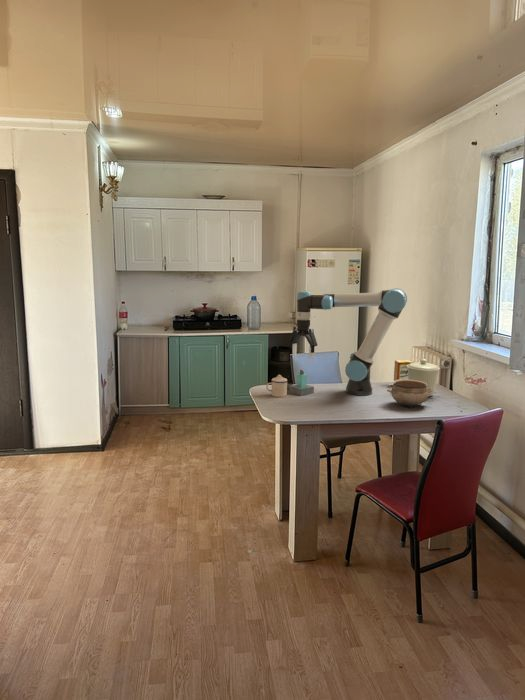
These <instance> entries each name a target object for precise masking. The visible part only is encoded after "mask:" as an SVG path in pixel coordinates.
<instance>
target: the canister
mask: <svg viewBox="0 0 525 700" xmlns="http://www.w3.org/2000/svg"><path fill="white" fill-rule="evenodd" d="M407 368H408V379H410V380H418V381H423V382H425V383H427V384H428V385H427V389H430V388H431V389H432V391H431V392H430V393H428V398H429V397H432V396H433V395H434V393H435V391H436V385H437V381H438V375H439V370H440V369H441V368H440V367H439V366H438V365H436V364H434V363H429V362H428V360H427V359H425V358H421V359H420V361H418V362H414V363H410V364H409V365H407ZM429 391H430V390H429Z"/></svg>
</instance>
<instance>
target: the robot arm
mask: <svg viewBox="0 0 525 700" xmlns="http://www.w3.org/2000/svg"><path fill="white" fill-rule="evenodd" d="M407 302H408V296H407V294H406V292H405V291H404V290H403V289H401V288H392V289H387V290H380V291H379V292H358V293H357V292H356V293H331V294H329V293H324V294H322V295H312V292H311V291H298V292H297V299H296V304H297V305H296V319H297V320H296V326H293V329H292V333H291V335H290V338H289V341H288V342H290V343H291V349H292V354H291V355H292V356H297V355H298V353H297V352H298V343H297V342H298V340H299V339H300V338H301V337H304V338H305V339H306V341H307V344H309V347H308V348H309V349H308V351H309V353H308V359H309V360H310V359H314V356H315V355H314V353H315V347H317V346H318V342H317V339H316V336H315V333H314V329H313V328H310V327H311V310H325V311H326V310H331V309H332V308H351V307H352V308H353V307H354V308H355V307H357V308H358V307H377V310H378V312H377V315H376V317H375V318H374V321H373V323H372V325H371V326H370V328H369V330H368V332H367V334H366V335H365V338H364V339H363V341H362V343H361V345H360V347H359V348H358V350H356V351H354V352H352V353H350V356H349V361H348V363H347V364H346V365H345V370H344V372H345V375H346V376H347V378H348V382H347V384H346V387H345V392H346V393H347V394H348V395H353V396H370V395H372V394H373V387H372V384H371V383H372V382H371V368H372V366H373V364H374V361H373V360H374V359H373V358H374V356H375V354H376V352H377V350H378V349H379V347H380V346H381V344H382V341H383V340H384V338H385V337H386V335H387V332H388V330H389V329H390V327H391V325H392V323H393V321H394V320H396V319H399V316H400V315H401V314H402V311H403V309H404V308H405V307H406V304H407Z"/></svg>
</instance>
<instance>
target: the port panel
mask: <svg viewBox="0 0 525 700" xmlns="http://www.w3.org/2000/svg"><path fill="white" fill-rule="evenodd" d="M314 389H315V387H314V385H309V384H306V387H303V388H300V387H297V383H296V384H294V385H290V386H289V391H288V393H290V394H293V395H295V396H300V397H303V396H308V395H312V394H314V393H315V390H314Z"/></svg>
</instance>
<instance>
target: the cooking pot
mask: <svg viewBox="0 0 525 700" xmlns="http://www.w3.org/2000/svg"><path fill="white" fill-rule="evenodd" d="M392 383H393V384H394V385H392V387H391V389H387V390H386V392H389V393H390V394H391V397H392V399H393V400H395V401H396V402H397V403H398V404H400V405H401V406H403V407H406V408H415V407H417V406H419V405H421V404H423V403H425V402H426V401H427V400H428V398H429V397H428V393H430V392H431V391H432V389H431V388H430V389H427V385H428V384H427V383H425V382H423V381H418V380H410V379H400V380H395V381H394V380H393V381H392ZM429 390H430V391H429Z"/></svg>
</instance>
